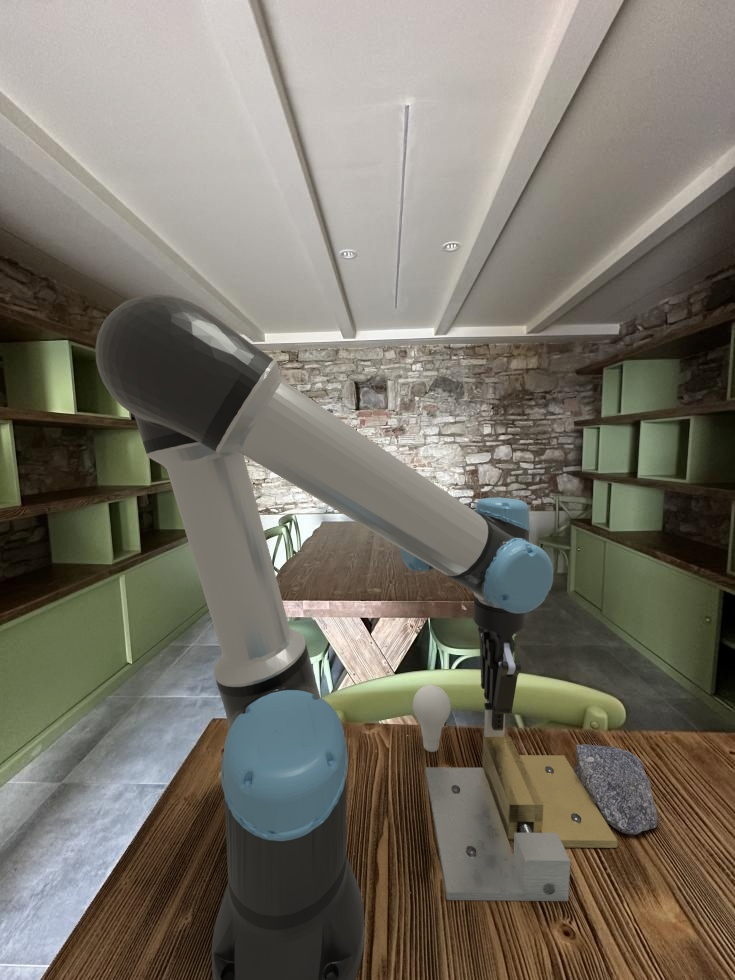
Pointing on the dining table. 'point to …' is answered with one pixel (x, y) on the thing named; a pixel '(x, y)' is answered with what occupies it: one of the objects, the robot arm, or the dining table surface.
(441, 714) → the lightbulb
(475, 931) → the dining table surface
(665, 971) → the dining table surface
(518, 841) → the zinc leaf
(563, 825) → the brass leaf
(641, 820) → the rock
